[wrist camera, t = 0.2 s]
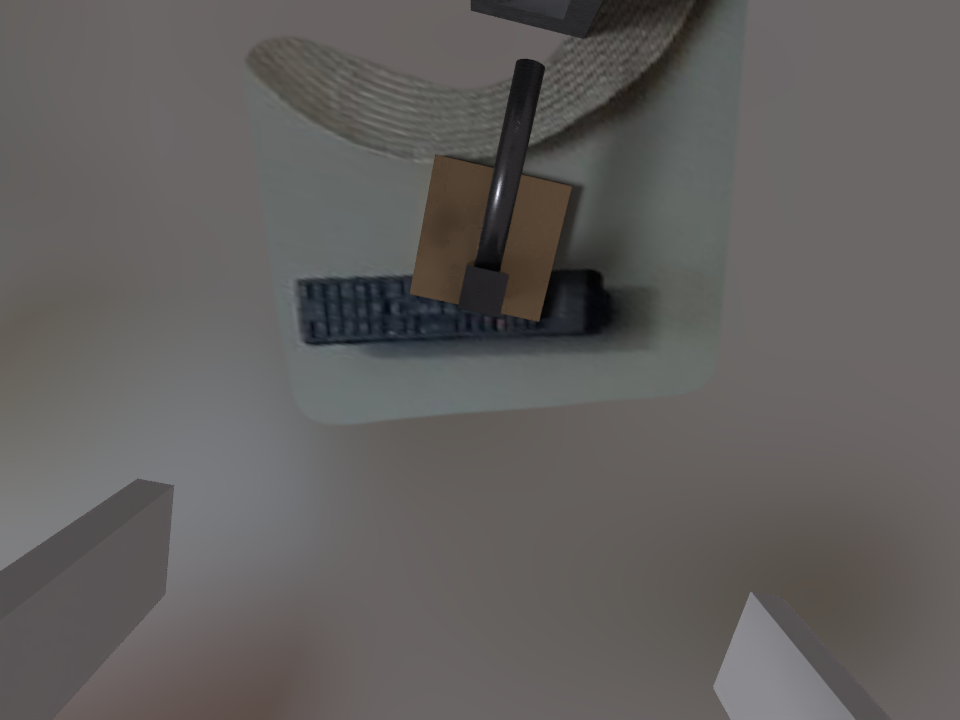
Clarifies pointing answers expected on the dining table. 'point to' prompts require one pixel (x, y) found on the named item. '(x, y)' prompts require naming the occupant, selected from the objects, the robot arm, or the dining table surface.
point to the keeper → (493, 221)
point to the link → (544, 13)
